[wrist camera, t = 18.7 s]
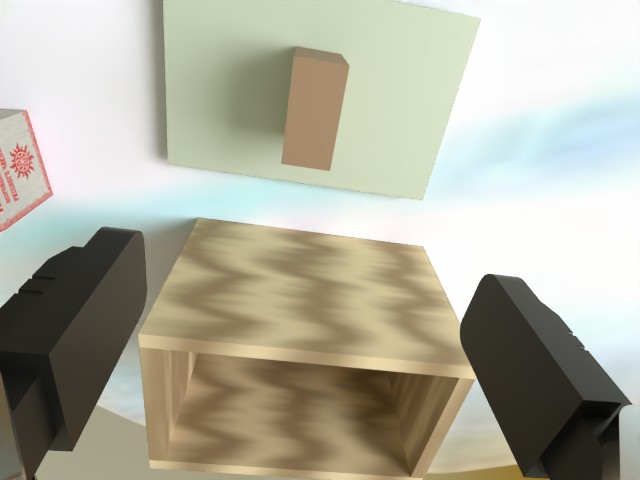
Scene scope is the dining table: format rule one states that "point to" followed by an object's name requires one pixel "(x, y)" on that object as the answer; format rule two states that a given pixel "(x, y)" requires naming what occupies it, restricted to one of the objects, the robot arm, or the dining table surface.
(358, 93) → the lid
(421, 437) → the wooden box
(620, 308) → the dining table surface
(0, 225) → the tea box
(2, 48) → the dining table surface
